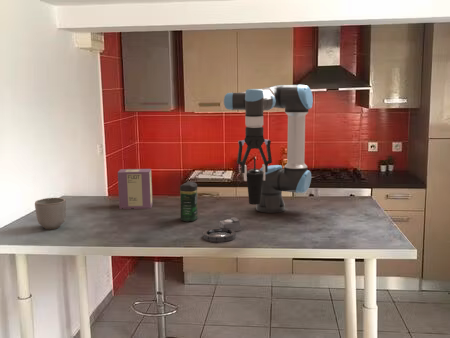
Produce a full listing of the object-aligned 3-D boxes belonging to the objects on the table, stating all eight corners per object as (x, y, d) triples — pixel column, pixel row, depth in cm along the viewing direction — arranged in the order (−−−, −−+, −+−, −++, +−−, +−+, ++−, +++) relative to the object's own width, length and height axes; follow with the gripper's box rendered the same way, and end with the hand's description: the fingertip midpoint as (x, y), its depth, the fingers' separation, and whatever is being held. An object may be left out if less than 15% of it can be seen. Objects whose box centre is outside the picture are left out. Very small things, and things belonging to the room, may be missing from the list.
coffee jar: (194, 222, 254) (193, 184, 250) (178, 221, 255) (177, 184, 252) (199, 217, 263) (199, 180, 260) (184, 216, 265) (183, 180, 261)
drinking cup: (244, 201, 228) (244, 155, 225) (262, 200, 229) (262, 155, 225) (246, 205, 221) (246, 158, 217) (264, 205, 221) (265, 158, 218)
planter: (39, 233, 239) (36, 205, 237) (34, 226, 251) (32, 199, 249) (70, 229, 245) (68, 202, 243) (64, 222, 257) (62, 196, 255)
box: (152, 204, 291) (151, 168, 287) (150, 208, 282) (149, 171, 278) (122, 204, 290) (120, 169, 287) (119, 209, 281) (117, 172, 278)
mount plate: (233, 231, 238) (233, 227, 237) (237, 241, 224) (237, 236, 223) (202, 233, 236) (202, 228, 236) (204, 242, 223) (204, 237, 222)
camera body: (235, 227, 245) (235, 217, 244) (240, 230, 240) (240, 220, 239) (219, 229, 242) (219, 219, 242) (223, 233, 237) (223, 222, 236)
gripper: (276, 124, 224) (276, 177, 228) (229, 126, 222) (230, 179, 226) (279, 126, 216) (279, 181, 220) (231, 127, 214) (232, 182, 218)
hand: (254, 180), depth 223 cm, fingers closed on drinking cup, 7 cm apart
